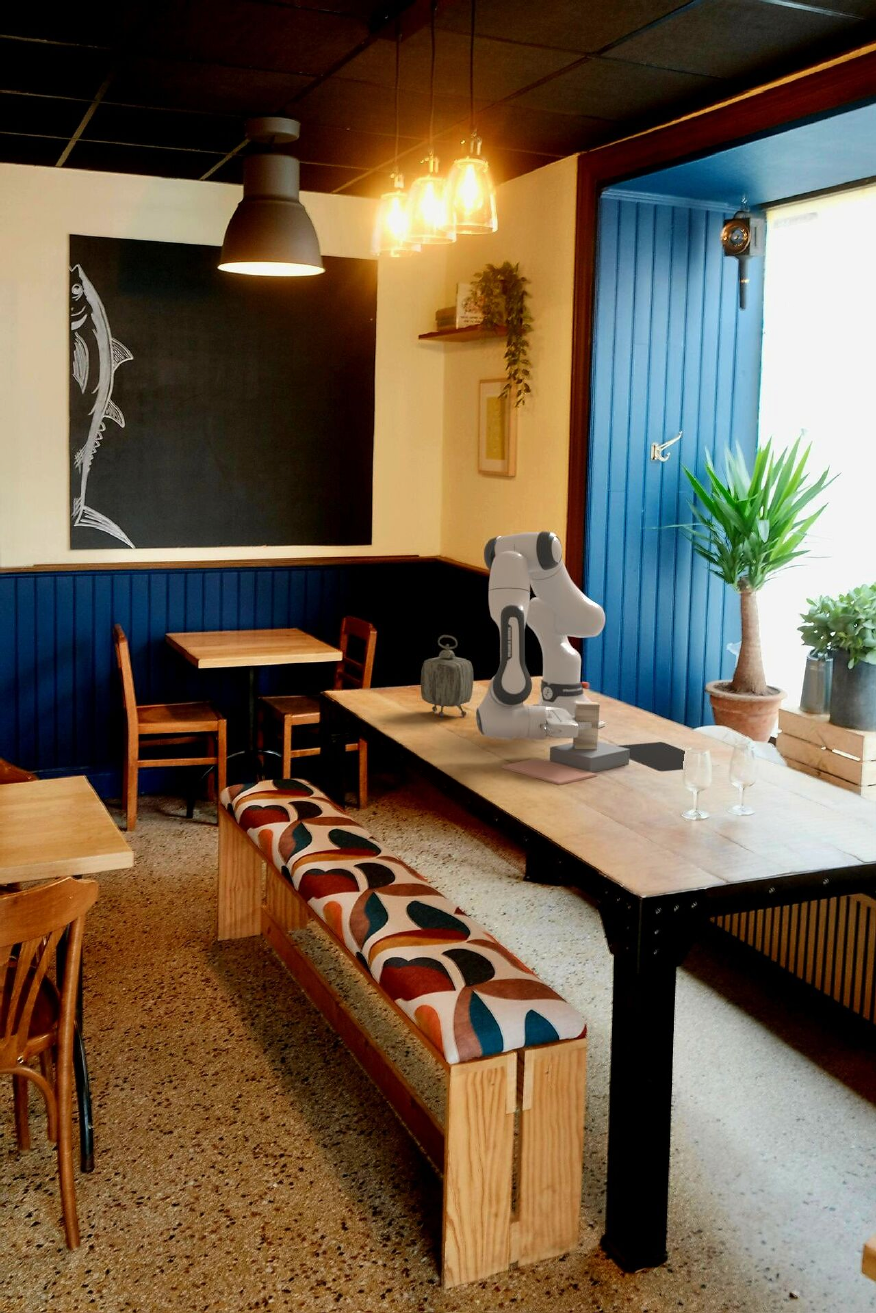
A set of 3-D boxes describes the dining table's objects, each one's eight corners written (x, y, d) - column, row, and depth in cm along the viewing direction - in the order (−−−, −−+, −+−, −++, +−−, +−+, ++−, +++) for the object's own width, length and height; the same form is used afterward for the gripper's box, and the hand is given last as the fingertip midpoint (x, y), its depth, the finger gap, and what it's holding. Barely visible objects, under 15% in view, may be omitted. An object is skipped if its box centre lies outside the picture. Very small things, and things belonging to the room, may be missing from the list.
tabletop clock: (472, 716, 378) (475, 636, 374) (456, 721, 371) (459, 639, 367) (432, 709, 386) (435, 631, 382) (416, 714, 379) (419, 634, 374)
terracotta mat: (538, 760, 327) (538, 757, 327) (596, 776, 313) (596, 773, 313) (502, 767, 318) (502, 765, 318) (559, 784, 304) (560, 782, 304)
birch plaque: (572, 746, 327) (575, 701, 325) (594, 746, 327) (597, 702, 325) (574, 748, 324) (577, 704, 322) (597, 749, 325) (599, 704, 323)
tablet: (603, 746, 344) (661, 741, 352) (603, 749, 344) (661, 743, 352) (660, 771, 320) (721, 765, 328) (659, 773, 320) (721, 767, 329)
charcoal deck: (588, 753, 337) (589, 739, 336) (628, 763, 327) (629, 749, 326) (549, 761, 326) (550, 747, 325) (589, 773, 316) (590, 757, 315)
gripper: (544, 719, 313) (597, 720, 314) (532, 702, 333) (583, 703, 334) (543, 743, 314) (596, 744, 315) (531, 725, 334) (581, 726, 335)
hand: (589, 723), depth 325 cm, fingers closed on birch plaque, 3 cm apart
